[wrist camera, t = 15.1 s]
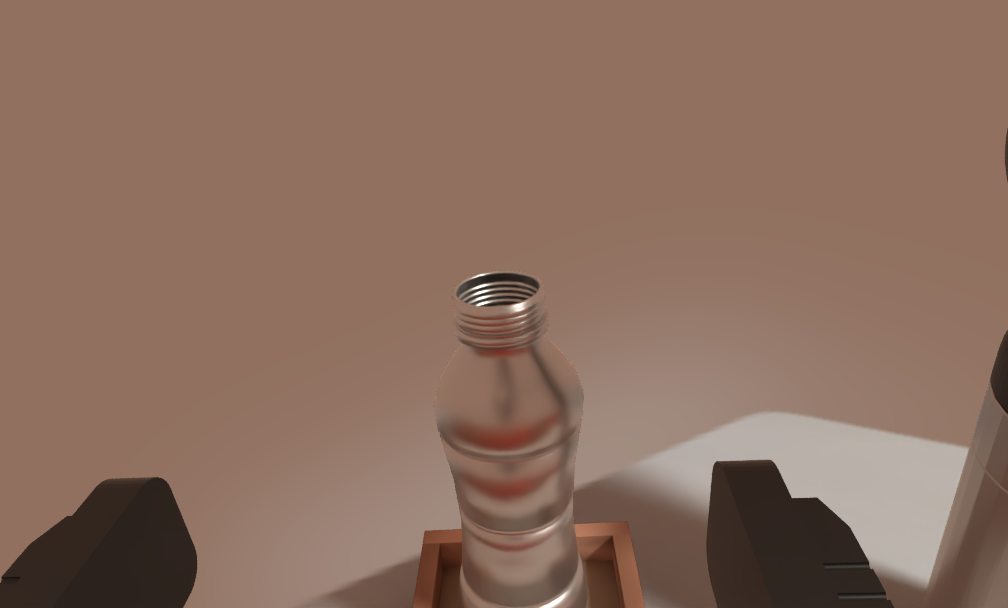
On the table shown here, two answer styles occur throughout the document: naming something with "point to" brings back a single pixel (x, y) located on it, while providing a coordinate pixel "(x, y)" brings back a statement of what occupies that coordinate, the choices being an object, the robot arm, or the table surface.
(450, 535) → the dock
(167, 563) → the robot arm
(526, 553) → the plastic bottle
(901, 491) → the table surface
